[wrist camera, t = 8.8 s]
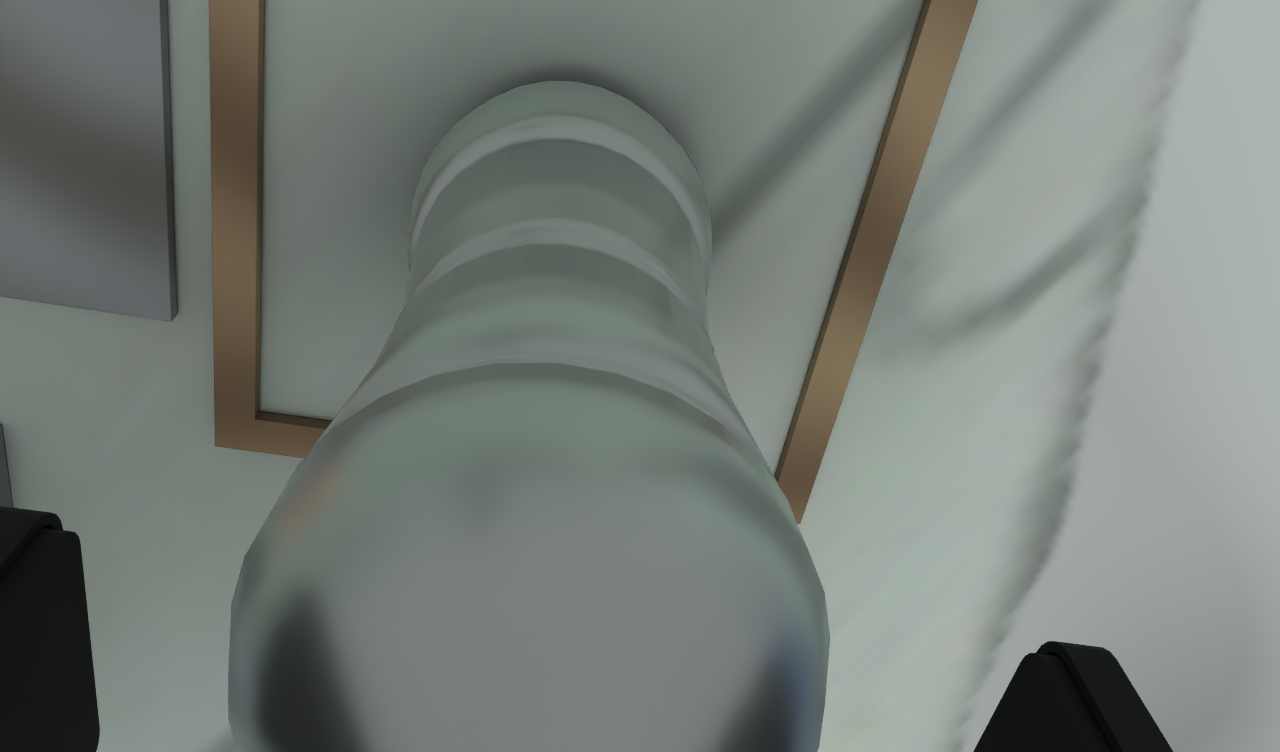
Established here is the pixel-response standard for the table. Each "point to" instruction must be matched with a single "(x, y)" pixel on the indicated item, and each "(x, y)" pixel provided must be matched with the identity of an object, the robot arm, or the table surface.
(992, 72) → the table surface
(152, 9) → the game track
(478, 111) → the plastic bottle
